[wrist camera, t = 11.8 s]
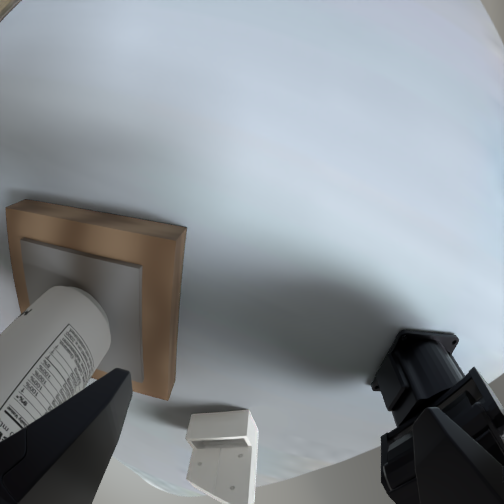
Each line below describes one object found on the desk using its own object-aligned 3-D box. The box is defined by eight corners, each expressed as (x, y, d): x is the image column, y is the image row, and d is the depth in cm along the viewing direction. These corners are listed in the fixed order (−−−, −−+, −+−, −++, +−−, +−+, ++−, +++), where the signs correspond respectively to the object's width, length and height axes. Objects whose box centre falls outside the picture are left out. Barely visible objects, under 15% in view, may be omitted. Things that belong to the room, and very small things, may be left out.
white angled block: (303, 444, 24) (253, 518, 18) (220, 415, 30) (169, 471, 24) (297, 423, 23) (240, 504, 17) (209, 394, 29) (152, 453, 22)
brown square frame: (186, 227, 20) (173, 244, 17) (175, 380, 25) (166, 405, 22) (25, 199, 19) (1, 209, 17) (44, 338, 25) (29, 356, 22)
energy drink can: (48, 266, 18) (-101, 408, 4) (120, 299, 19) (-12, 497, 5) (49, 330, 20) (-54, 465, 6) (113, 361, 21) (27, 528, 7)
